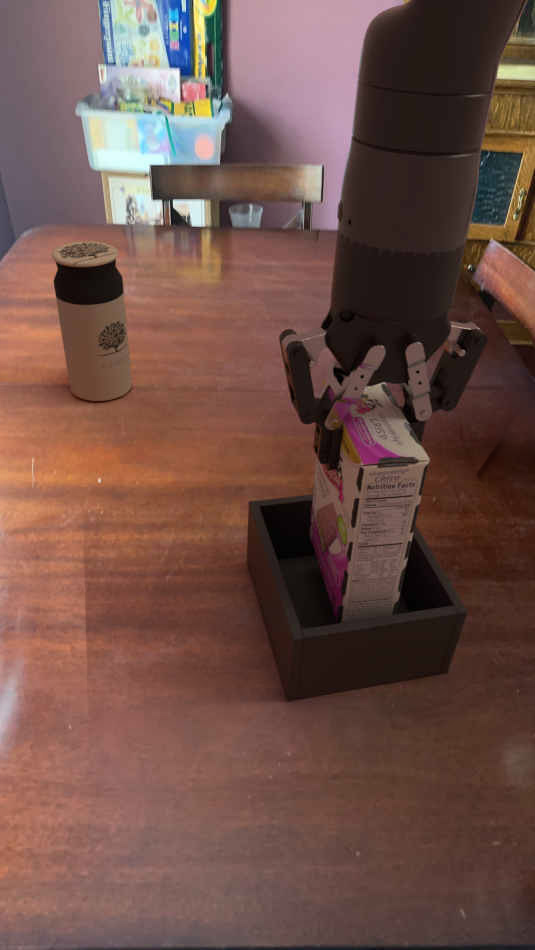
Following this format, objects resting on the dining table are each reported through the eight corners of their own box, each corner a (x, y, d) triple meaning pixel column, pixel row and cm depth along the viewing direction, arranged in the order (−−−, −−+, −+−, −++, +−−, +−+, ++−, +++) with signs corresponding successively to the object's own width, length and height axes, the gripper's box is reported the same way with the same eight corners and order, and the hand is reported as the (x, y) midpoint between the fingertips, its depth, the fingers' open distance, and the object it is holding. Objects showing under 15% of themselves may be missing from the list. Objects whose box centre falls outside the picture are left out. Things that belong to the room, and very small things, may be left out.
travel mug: (61, 382, 90) (38, 246, 79) (116, 367, 93) (102, 236, 82) (85, 409, 85) (65, 268, 74) (142, 392, 88) (131, 256, 77)
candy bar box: (304, 535, 61) (320, 375, 51) (357, 530, 62) (383, 372, 52) (334, 632, 52) (360, 462, 42) (396, 625, 53) (435, 457, 43)
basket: (380, 543, 67) (391, 484, 63) (447, 672, 55) (468, 611, 51) (246, 561, 64) (248, 501, 60) (287, 701, 52) (293, 639, 48)
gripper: (301, 252, 35) (283, 503, 45) (546, 242, 38) (477, 480, 48) (268, 209, 41) (259, 441, 51) (483, 203, 44) (433, 423, 54)
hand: (365, 459), depth 50 cm, fingers closed on candy bar box, 5 cm apart
